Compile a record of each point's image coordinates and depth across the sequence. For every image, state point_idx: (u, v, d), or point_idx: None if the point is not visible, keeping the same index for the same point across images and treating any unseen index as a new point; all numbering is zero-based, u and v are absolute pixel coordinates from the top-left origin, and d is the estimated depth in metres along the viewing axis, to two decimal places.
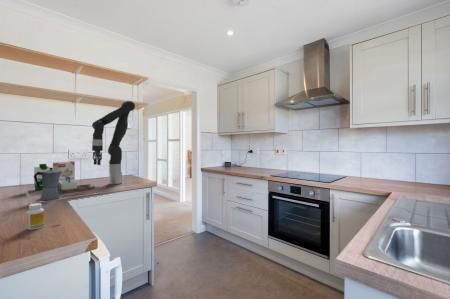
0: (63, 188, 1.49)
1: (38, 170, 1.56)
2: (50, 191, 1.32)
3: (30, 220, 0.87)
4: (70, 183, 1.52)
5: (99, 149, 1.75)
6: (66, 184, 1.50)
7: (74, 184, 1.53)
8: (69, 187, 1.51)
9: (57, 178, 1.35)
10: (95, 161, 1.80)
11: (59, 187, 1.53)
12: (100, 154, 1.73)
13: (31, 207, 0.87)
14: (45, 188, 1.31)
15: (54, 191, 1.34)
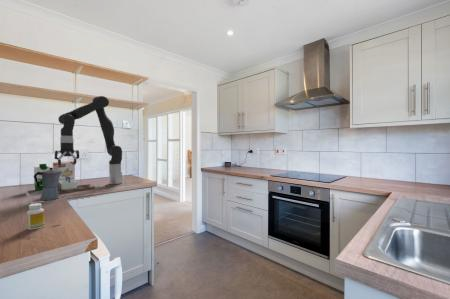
0: (63, 188, 1.49)
1: (38, 170, 1.56)
2: (50, 191, 1.32)
3: (30, 220, 0.87)
4: (70, 183, 1.52)
5: None
6: (66, 184, 1.50)
7: (74, 184, 1.53)
8: (69, 187, 1.51)
9: (57, 178, 1.35)
10: (60, 161, 1.51)
11: (59, 187, 1.53)
12: None
13: (31, 207, 0.87)
14: (45, 188, 1.31)
15: (54, 191, 1.34)
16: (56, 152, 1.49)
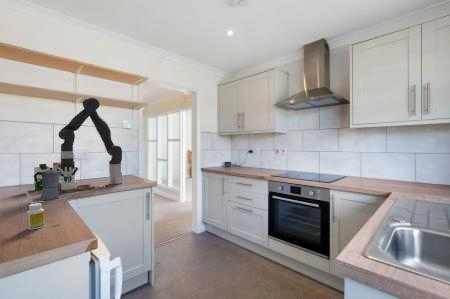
0: (63, 188, 1.49)
1: (38, 170, 1.56)
2: (50, 191, 1.32)
3: (30, 220, 0.87)
4: (70, 183, 1.52)
5: None
6: (66, 184, 1.50)
7: (74, 184, 1.53)
8: (69, 187, 1.51)
9: (57, 178, 1.35)
10: None
11: (59, 187, 1.53)
12: None
13: (31, 207, 0.87)
14: (45, 188, 1.31)
15: (54, 191, 1.34)
16: (58, 170, 1.50)
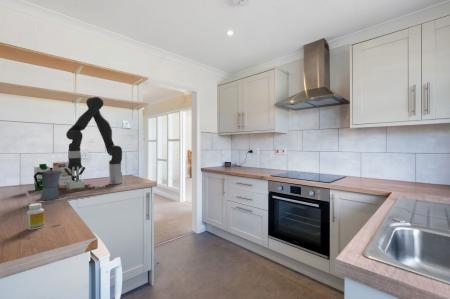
0: (71, 187, 1.52)
1: (38, 170, 1.56)
2: (50, 191, 1.32)
3: (30, 220, 0.87)
4: (78, 182, 1.55)
5: None
6: (74, 183, 1.53)
7: (81, 183, 1.57)
8: (77, 186, 1.54)
9: (57, 178, 1.35)
10: (73, 177, 1.57)
11: (67, 186, 1.57)
12: None
13: (31, 207, 0.87)
14: (45, 188, 1.31)
15: (54, 191, 1.34)
16: (66, 170, 1.53)
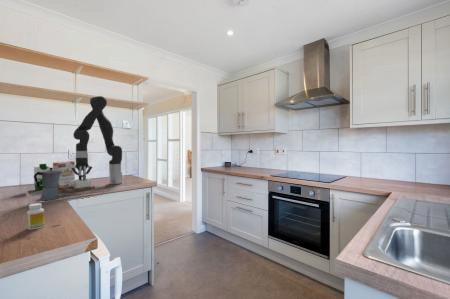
0: (78, 186, 1.55)
1: (38, 170, 1.56)
2: (50, 191, 1.32)
3: (30, 220, 0.87)
4: (85, 181, 1.58)
5: None
6: (81, 182, 1.56)
7: (88, 182, 1.60)
8: (84, 185, 1.58)
9: (57, 178, 1.35)
10: None
11: (74, 185, 1.60)
12: None
13: (31, 207, 0.87)
14: (45, 188, 1.31)
15: (54, 191, 1.34)
16: (73, 169, 1.56)
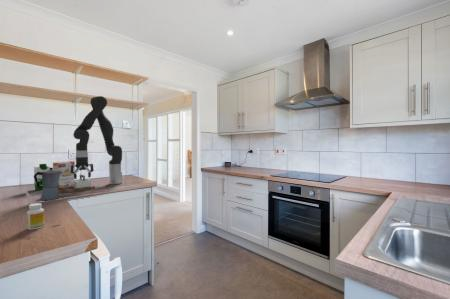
0: (78, 186, 1.55)
1: (38, 170, 1.56)
2: (50, 191, 1.32)
3: (30, 220, 0.87)
4: (85, 181, 1.58)
5: None
6: (81, 182, 1.56)
7: (88, 182, 1.60)
8: (84, 185, 1.58)
9: (57, 178, 1.35)
10: None
11: (74, 185, 1.60)
12: None
13: (31, 207, 0.87)
14: (45, 188, 1.31)
15: (54, 191, 1.34)
16: (72, 166, 1.55)
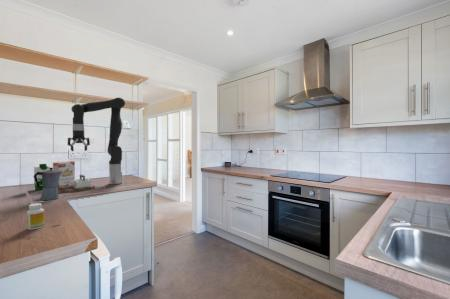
0: (78, 186, 1.55)
1: (38, 170, 1.56)
2: (50, 191, 1.32)
3: (30, 220, 0.87)
4: (85, 181, 1.58)
5: None
6: (81, 182, 1.56)
7: (88, 182, 1.60)
8: (84, 185, 1.58)
9: (57, 178, 1.35)
10: None
11: (74, 185, 1.60)
12: None
13: (31, 207, 0.87)
14: (45, 188, 1.31)
15: (54, 191, 1.34)
16: (69, 139, 1.63)
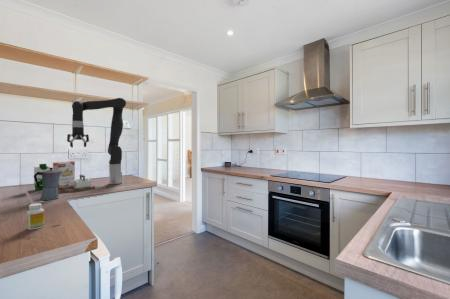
0: (78, 186, 1.55)
1: (38, 170, 1.56)
2: (50, 191, 1.32)
3: (30, 220, 0.87)
4: (85, 181, 1.58)
5: None
6: (81, 182, 1.56)
7: (88, 182, 1.60)
8: (84, 185, 1.58)
9: (57, 178, 1.35)
10: None
11: (74, 185, 1.60)
12: None
13: (31, 207, 0.87)
14: (45, 188, 1.31)
15: (54, 191, 1.34)
16: (68, 135, 1.66)
